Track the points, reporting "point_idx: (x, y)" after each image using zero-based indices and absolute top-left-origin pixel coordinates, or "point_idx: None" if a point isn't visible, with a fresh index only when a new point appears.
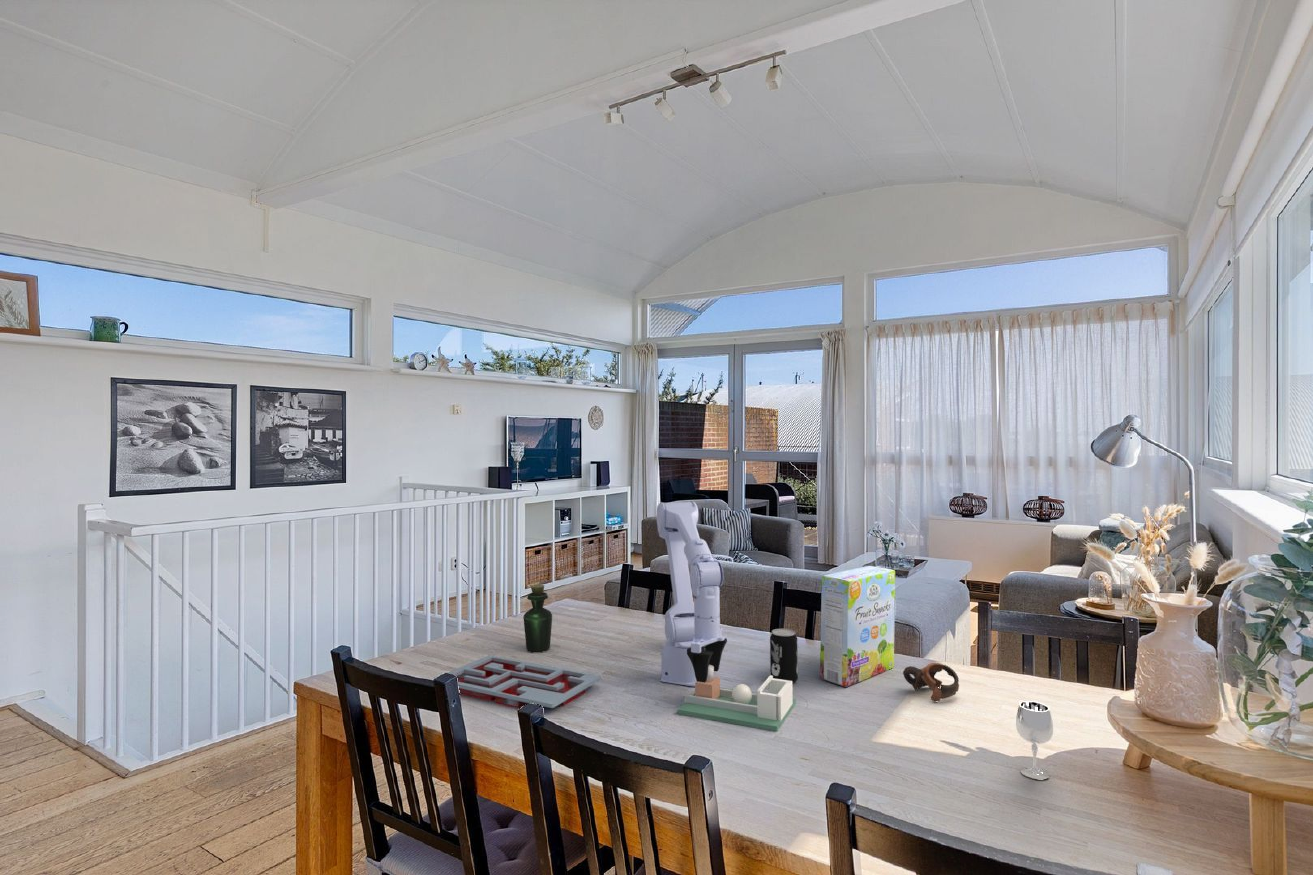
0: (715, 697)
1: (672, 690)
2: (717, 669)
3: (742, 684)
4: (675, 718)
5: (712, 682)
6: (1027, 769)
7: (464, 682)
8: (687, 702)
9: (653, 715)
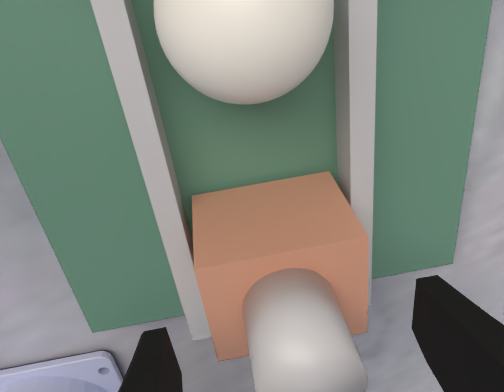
0: (275, 188)
1: (205, 386)
2: (164, 338)
3: (241, 30)
4: (489, 231)
5: (316, 259)
6: None
7: None
8: None
9: (482, 305)
